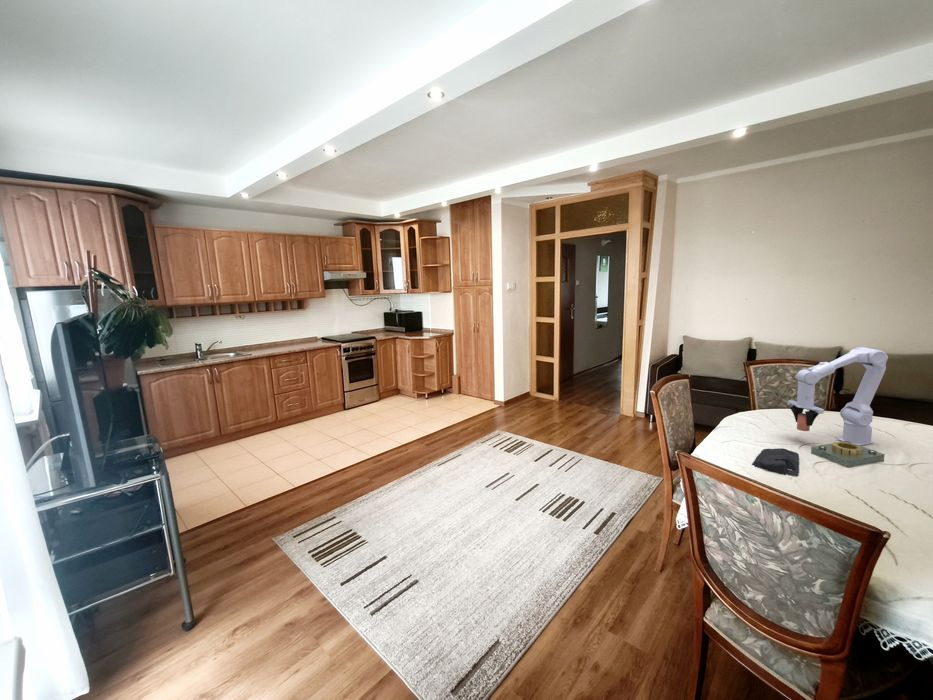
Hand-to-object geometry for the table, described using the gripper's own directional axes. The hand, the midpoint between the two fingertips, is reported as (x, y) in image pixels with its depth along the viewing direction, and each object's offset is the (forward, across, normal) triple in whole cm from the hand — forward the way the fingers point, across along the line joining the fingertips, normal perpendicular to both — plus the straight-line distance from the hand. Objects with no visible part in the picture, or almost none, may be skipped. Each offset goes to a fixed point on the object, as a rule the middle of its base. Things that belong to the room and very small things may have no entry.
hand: (803, 423), depth 173 cm
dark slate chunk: (+10, +12, -27) cm, 31 cm away
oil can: (+3, 0, 0) cm, 3 cm away
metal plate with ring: (+9, +16, +2) cm, 19 cm away
